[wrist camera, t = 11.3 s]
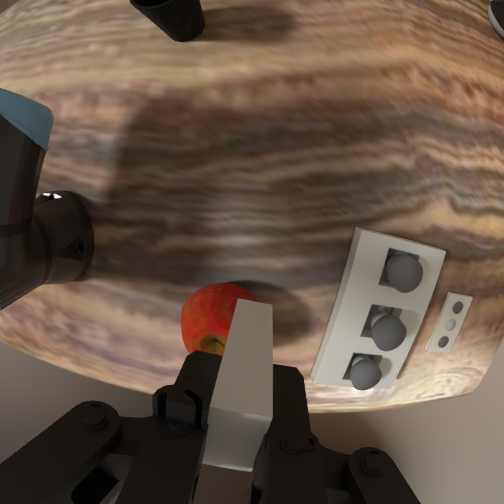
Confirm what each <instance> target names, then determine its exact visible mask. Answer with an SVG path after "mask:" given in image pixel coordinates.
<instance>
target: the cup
mask: <svg viewBox="0 0 504 504" xmlns="http://www.w3.org/2000/svg"><path fill="white" fill-rule="evenodd" d="M130 3H131V4H132V5H133V6H134V7H135V8H137V9H138V10H139V11H140V12H141V13H143V14H144V15H145V16H146V17H147V18H149V19H150V20H151V21H152V22H153V23H154V24H156V25H157V26H158V27H159V28H160V29H161V30H163V31H164V32H165V33H166V34H167V35H168V36H169V37H170V38H172V39H173V40H175V41H178V42H185V41H190V40H192V39H194V38H196V37H197V36H199V35H200V34H201V32H202V31H203V29H204V27H205V21H204V17H203V13H202V9H201V5H200V1H199V0H130Z"/></svg>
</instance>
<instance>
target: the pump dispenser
mask: <svg viewBox="0 0 504 504" xmlns="http://www.w3.org/2000/svg"><path fill="white" fill-rule="evenodd" d="M488 16H489V19H490V22H491V24H492V25H493V27H494V28H495V30H496V31H497V32H498V33H499V34H500V35H501V36H502V37H503V38H504V0H492V1H491V3H490V6H489V8H488Z"/></svg>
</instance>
